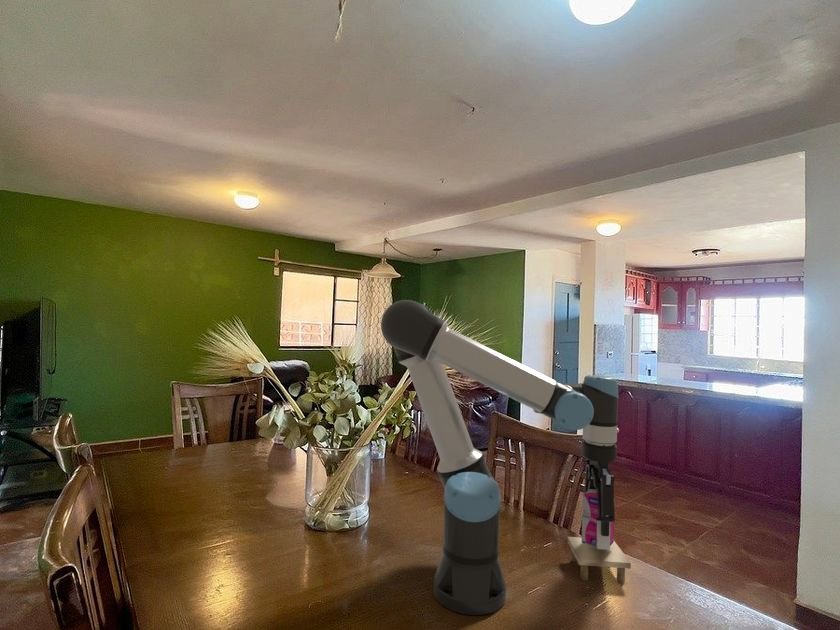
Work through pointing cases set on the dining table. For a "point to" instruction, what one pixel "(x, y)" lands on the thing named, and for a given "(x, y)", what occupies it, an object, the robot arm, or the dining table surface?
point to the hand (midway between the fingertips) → (597, 539)
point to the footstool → (598, 558)
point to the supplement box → (592, 519)
